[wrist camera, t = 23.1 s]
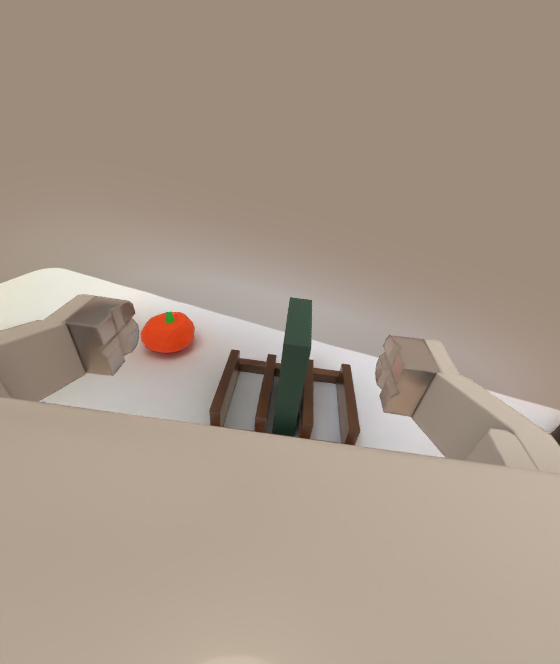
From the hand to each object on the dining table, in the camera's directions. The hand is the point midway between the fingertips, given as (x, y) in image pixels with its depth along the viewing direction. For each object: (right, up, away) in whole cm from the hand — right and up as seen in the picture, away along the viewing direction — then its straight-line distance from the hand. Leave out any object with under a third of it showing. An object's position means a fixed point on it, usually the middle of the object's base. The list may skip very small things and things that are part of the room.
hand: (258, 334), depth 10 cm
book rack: (+1, -10, +30) cm, 31 cm away
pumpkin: (-17, -2, +38) cm, 41 cm away
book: (+2, -10, +30) cm, 31 cm away
